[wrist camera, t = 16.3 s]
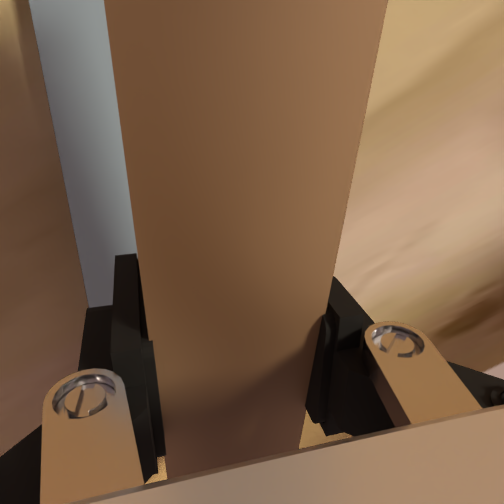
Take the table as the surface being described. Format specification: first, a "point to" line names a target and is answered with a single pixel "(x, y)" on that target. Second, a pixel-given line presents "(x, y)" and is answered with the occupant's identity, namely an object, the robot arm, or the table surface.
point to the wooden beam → (238, 202)
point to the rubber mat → (87, 135)
